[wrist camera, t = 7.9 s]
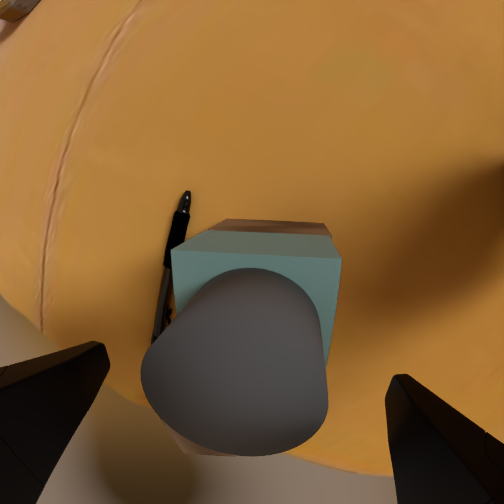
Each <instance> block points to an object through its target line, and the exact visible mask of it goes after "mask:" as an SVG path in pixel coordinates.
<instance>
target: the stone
mask: <svg viewBox="0 0 504 504" xmlns="http://www.w3.org/2000/svg"><path fill="white" fill-rule="evenodd" d="M141 382H142V387H143V390H144V393H145V395H146V397H147V399H148V401H149V403H150V405H151V406H152V408H153V409H154V411H155V412H156V413H157V414H158V415H159V417H160V418H161V419H162V420H163V421H164V422H165V423H166V424H167V425H168V426H170V427H171V428H172V429H173V430H175V431H176V432H177V433H179V434H180V435H182V436H183V437H185V438H187V439H188V440H190V441H192V442H194V443H196V444H198V445H200V446H203V447H205V448H208V449H211V450H214V451H218V452H221V453H226V454H231V455H238V456H265V455H272V454H277V453H281V452H284V451H287V450H290V449H293V448H295V447H297V446H299V445H301V444H302V443H304V442H306V441H307V440H308V439H310V438H311V437H312V436H313V435H314V434H315V433H316V432H317V431H318V430H319V428H320V427H321V425H322V424H323V422H324V420H325V417H326V415H327V410H328V390H327V380H326V370H325V360H324V351H323V343H322V335H321V327H320V320H319V316H318V312H317V310H316V307H315V305H314V303H313V302H312V300H311V298H310V297H309V296H308V294H307V293H306V292H305V291H304V290H303V289H302V288H301V287H300V286H299V285H298V284H296V283H295V282H293V281H292V280H291V279H289V278H287V277H285V276H283V275H281V274H279V273H276V272H274V271H270V270H266V269H260V268H238V269H233V270H229V271H226V272H224V273H221V274H219V275H217V276H215V277H214V278H212V279H211V280H209V281H208V282H207V283H206V284H205V285H204V286H203V287H202V288H201V289H200V290H199V291H198V292H197V293H196V295H195V296H194V297H193V298H192V299H191V300H190V301H189V303H188V304H187V305H186V306H185V307H184V308H183V309H182V311H181V312H180V313H179V314H178V315H177V316H176V317H175V319H174V320H173V321H172V322H171V323H170V324H169V325H168V327H167V328H166V329H165V330H164V331H163V332H162V334H161V335H160V336H159V337H158V338H157V339H156V341H155V342H154V343H153V344H152V345H151V346H150V347H149V349H148V350H147V352H146V354H145V356H144V358H143V361H142V365H141Z"/></svg>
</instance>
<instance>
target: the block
mask: <svg viewBox="0 0 504 504" xmlns="http://www.w3.org/2000/svg"><path fill="white" fill-rule="evenodd" d="M160 419H161V418H160ZM161 421H162V422H163V424H164V425H165V427H166V428H167V430H168V431H169V433H170V434H171V436H172V437H173V438H174V440H175V441H176V443H177V444H178V445H179V447H180V448H181V450H182V451H183V452H184V453H191V454H201V455H215V456H236V455H231V454H226V453H221V452H218V451H214V450H211V449H208V448H205V447H203V446H200V445H198V444H196V443H194V442H192V441H190V440H188V439H187V438H185V437H183V436H182V435H180V434H179V433H177V432H176V431H175V430H173V429H172V428H171V427H170V426H168V425H167V424H166V423H165V422H164V421H163V420H162V419H161Z"/></svg>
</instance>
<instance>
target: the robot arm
mask: <svg viewBox="0 0 504 504" xmlns="http://www.w3.org/2000/svg"><path fill="white" fill-rule="evenodd" d="M109 369H110V361H109V357H108V354H107V351H106V347H105V345H104V344H103V343H100V342H97V341H90V342H87V343H84V344H81V345H78V346H74V347H71V348H68V349H64V350H61V351H58V352H54V353H51V354H48V355H44V356H40V357H37V358H33V359H30V360H26V361H23V362H19V363H15V364H12V365H9V366H4V367H0V504H36V502H37V500H38V499H39V497H40V495H41V493H42V491H43V489H44V487H45V485H46V483H47V481H48V479H49V477H50V475H51V473H52V472H53V469H54V468H55V466H56V464H57V462H58V461H59V459H60V457H61V455H62V454H63V452H64V450H65V448H66V446H67V445H68V443H69V441H70V440H71V438H72V436H73V435H74V433H75V431H76V430H77V428H78V426H79V425H80V423H81V421H82V419H83V418H84V416H85V415H86V413H87V411H88V410H89V408H90V407H91V405H92V403H93V402H94V399H95V398H96V396H97V393H98V391H99V389H100V387H101V385H102V383H103V381H104V379H105V377H106V375H107V373H108V371H109ZM385 408H386V418H387V431H388V443H389V450H390V455H391V461H392V467H393V473H394V480H395V486H396V495H397V503H398V504H504V444H503V443H502V442H500V441H499V440H497V439H496V438H495V437H493V436H492V435H490V434H489V433H488V432H486V433H485V430H483V429H482V428H481V427H479V426H478V425H476V424H475V423H474V422H472V421H471V420H470V419H468V418H467V417H465V416H464V415H463V414H461V413H460V412H459V411H457V410H456V409H454V408H453V407H452V406H450V405H449V404H448V403H446V402H445V401H444V400H442V399H441V398H439V397H438V396H437V395H435V394H434V393H433V392H431V391H430V390H429V389H427V388H426V387H424V386H423V385H422V384H420V383H419V382H418V381H416V380H415V379H414V378H412V377H411V376H409V375H408V374H396V375H394V376H393V378H392V380H391V383H390V385H389V388H388V390H387V393H386V396H385Z"/></svg>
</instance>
